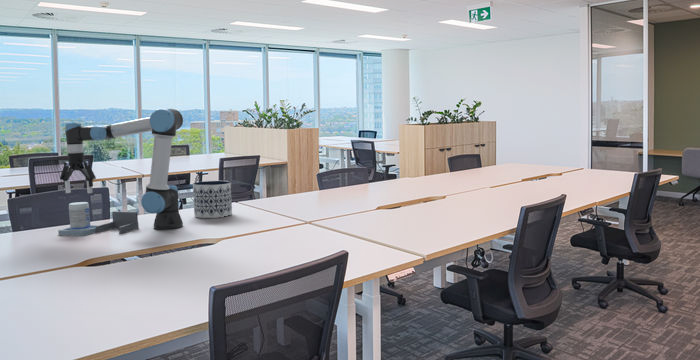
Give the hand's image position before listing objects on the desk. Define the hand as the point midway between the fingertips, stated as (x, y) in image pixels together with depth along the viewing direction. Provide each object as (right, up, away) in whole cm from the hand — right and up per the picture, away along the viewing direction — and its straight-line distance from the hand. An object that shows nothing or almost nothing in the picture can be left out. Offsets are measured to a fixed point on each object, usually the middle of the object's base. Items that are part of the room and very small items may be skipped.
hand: (79, 193), depth 279 cm
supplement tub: (0, -20, +2) cm, 20 cm away
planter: (+58, -15, +47) cm, 77 cm away
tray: (0, -21, +2) cm, 21 cm away
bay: (+17, -20, +6) cm, 27 cm away
